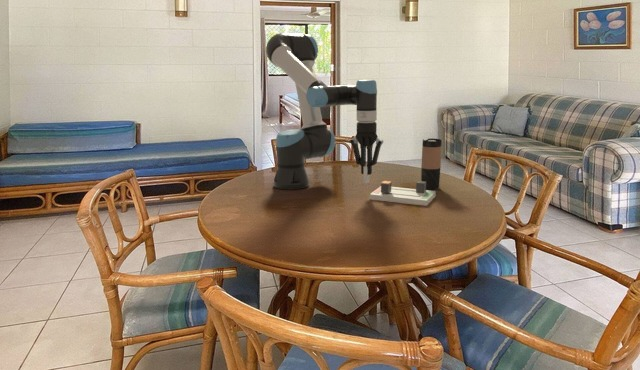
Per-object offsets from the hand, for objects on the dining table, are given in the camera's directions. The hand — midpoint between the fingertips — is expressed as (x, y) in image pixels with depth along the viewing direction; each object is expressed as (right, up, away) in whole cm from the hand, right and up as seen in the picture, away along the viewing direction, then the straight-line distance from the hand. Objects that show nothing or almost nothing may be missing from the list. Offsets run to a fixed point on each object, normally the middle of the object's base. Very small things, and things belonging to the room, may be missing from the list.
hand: (366, 182), depth 189 cm
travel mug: (+27, -2, +12) cm, 30 cm away
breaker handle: (+7, -4, -3) cm, 9 cm away
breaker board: (+14, -6, -2) cm, 15 cm away
